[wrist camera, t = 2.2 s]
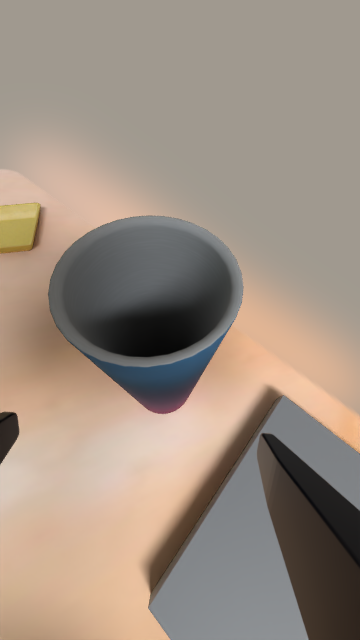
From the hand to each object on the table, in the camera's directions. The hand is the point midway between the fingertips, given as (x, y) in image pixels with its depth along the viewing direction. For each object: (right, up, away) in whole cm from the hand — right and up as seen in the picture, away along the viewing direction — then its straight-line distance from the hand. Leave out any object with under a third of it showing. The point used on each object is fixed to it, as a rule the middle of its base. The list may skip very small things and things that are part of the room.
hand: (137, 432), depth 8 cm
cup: (0, -2, +13) cm, 13 cm away
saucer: (-21, +15, +23) cm, 35 cm away
